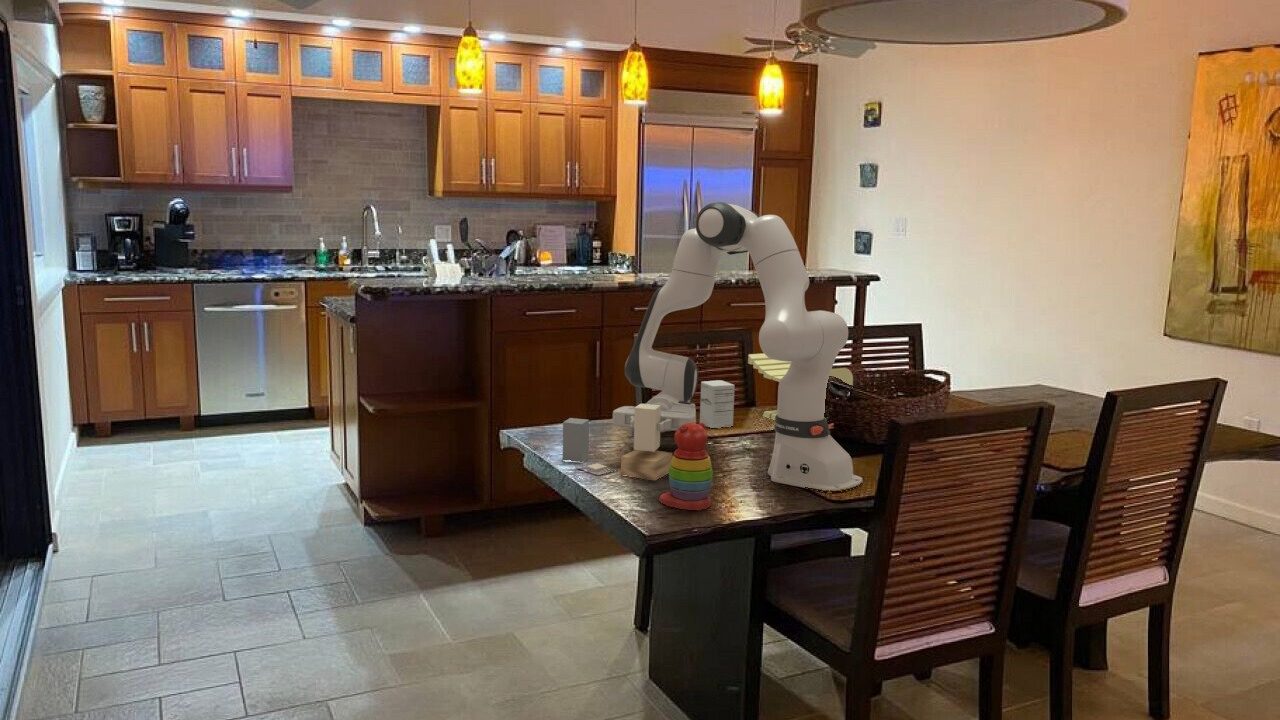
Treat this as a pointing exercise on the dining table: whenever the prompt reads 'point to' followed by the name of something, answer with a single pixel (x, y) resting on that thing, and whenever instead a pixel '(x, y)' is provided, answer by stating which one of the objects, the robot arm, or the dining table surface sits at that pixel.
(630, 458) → the oak pedestal
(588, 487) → the dining table surface
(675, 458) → the stacking bear
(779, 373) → the slatted curved stool
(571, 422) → the grey block
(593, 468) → the card
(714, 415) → the supplement box
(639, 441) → the cream block
